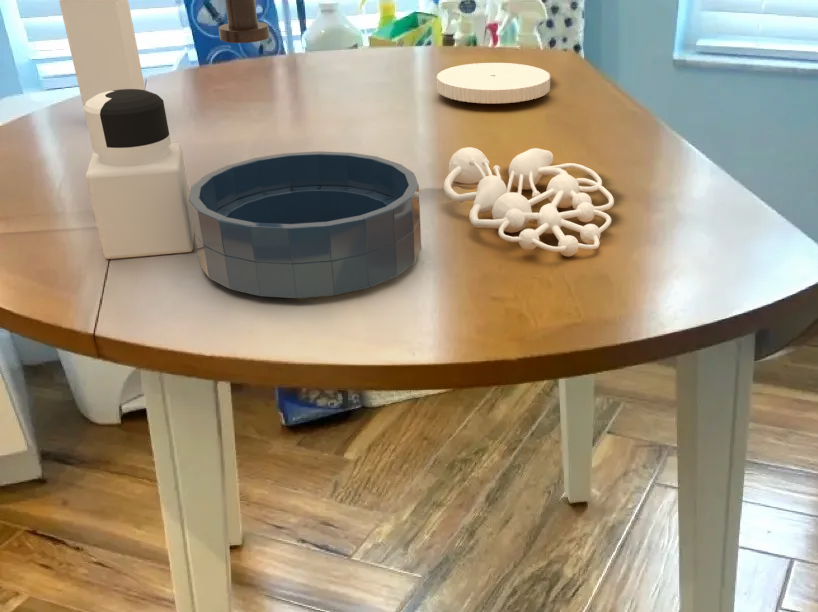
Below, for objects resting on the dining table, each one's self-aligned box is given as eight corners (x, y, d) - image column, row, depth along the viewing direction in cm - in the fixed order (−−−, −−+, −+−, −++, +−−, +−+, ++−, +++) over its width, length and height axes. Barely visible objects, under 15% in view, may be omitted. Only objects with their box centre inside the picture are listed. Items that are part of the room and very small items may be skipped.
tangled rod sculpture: (647, 268, 79) (657, 219, 76) (476, 269, 76) (481, 219, 73) (578, 184, 94) (585, 141, 92) (434, 183, 91) (436, 139, 89)
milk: (140, 125, 111) (97, -94, 98) (86, 127, 110) (36, -93, 98) (149, 111, 116) (110, -100, 103) (98, 112, 115) (52, -99, 102)
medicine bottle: (194, 222, 85) (170, 80, 78) (193, 253, 79) (167, 103, 73) (111, 229, 84) (79, 86, 77) (104, 261, 78) (68, 109, 71)
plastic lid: (415, 103, 117) (415, 81, 116) (471, 78, 127) (471, 58, 126) (518, 118, 112) (518, 95, 110) (567, 90, 121) (569, 69, 120)
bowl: (195, 314, 70) (180, 235, 67) (208, 226, 84) (196, 158, 81) (434, 295, 72) (431, 218, 69) (407, 213, 86) (404, 146, 83)
